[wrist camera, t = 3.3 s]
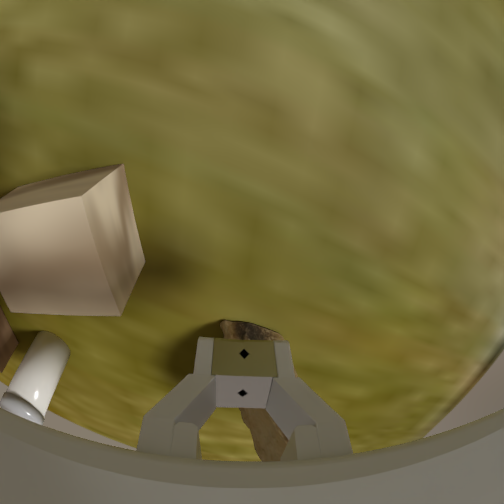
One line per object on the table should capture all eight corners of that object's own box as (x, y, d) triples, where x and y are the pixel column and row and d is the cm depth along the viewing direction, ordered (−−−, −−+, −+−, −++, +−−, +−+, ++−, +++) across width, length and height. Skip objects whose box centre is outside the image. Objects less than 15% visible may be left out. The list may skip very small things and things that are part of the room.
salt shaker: (30, 326, 20) (-9, 396, 13) (63, 333, 21) (26, 411, 14) (44, 355, 22) (13, 422, 15) (76, 363, 22) (48, 435, 16)
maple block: (19, 186, 14) (-30, 220, 10) (124, 162, 14) (81, 195, 10) (46, 266, 17) (11, 312, 13) (146, 260, 17) (121, 316, 13)
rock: (303, 429, 24) (371, 383, 19) (250, 495, 18) (318, 479, 12) (219, 357, 28) (258, 289, 22) (153, 408, 21) (170, 350, 16)
